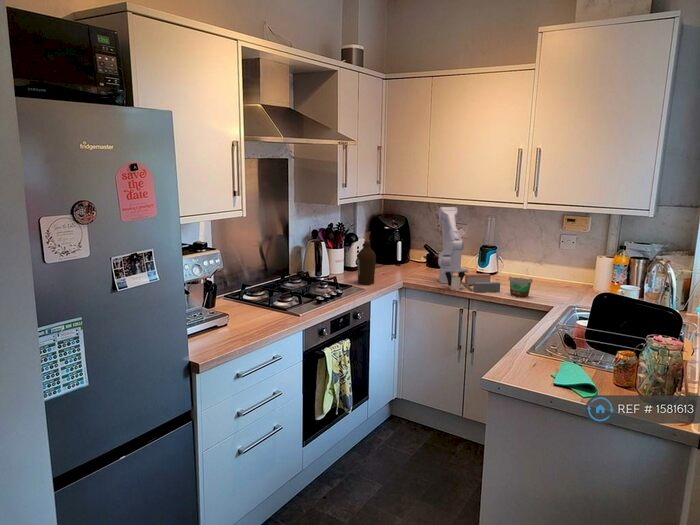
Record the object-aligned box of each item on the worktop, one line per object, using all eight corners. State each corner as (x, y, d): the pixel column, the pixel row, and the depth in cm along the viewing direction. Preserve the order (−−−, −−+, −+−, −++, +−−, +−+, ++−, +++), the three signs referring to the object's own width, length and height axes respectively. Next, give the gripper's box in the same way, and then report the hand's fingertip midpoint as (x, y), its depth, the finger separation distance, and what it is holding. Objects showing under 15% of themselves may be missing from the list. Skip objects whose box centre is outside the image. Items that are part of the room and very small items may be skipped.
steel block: (448, 287, 288) (449, 275, 286) (457, 287, 288) (457, 275, 287) (451, 289, 283) (451, 277, 282) (459, 289, 284) (460, 277, 282)
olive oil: (375, 281, 299) (376, 239, 294) (374, 285, 289) (375, 242, 283) (357, 280, 300) (358, 238, 295) (356, 285, 289) (356, 241, 284)
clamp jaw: (464, 284, 295) (465, 273, 294) (488, 283, 297) (488, 273, 295) (466, 285, 292) (467, 275, 291) (490, 285, 293) (490, 275, 292)
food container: (505, 295, 272) (506, 277, 270) (507, 293, 278) (509, 275, 276) (529, 299, 267) (531, 280, 265) (531, 296, 272) (532, 278, 270)
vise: (461, 283, 297) (461, 275, 296) (488, 283, 299) (489, 275, 298) (472, 292, 278) (473, 283, 277) (501, 292, 280) (502, 283, 279)
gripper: (445, 263, 278) (443, 287, 281) (470, 262, 279) (469, 286, 282) (441, 260, 285) (440, 284, 288) (466, 260, 286) (465, 283, 289)
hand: (454, 285), depth 285 cm, fingers closed on steel block, 5 cm apart
